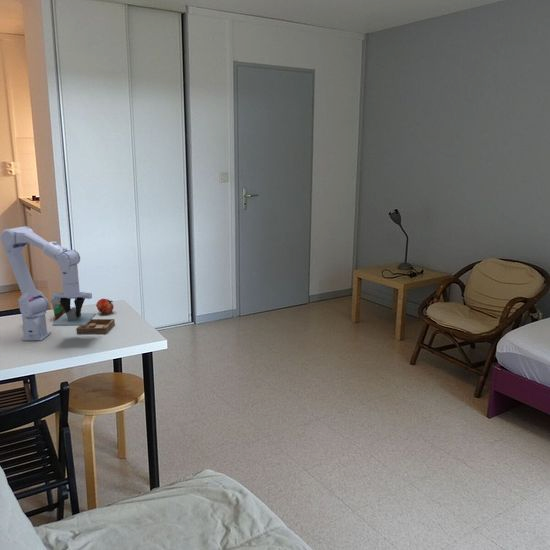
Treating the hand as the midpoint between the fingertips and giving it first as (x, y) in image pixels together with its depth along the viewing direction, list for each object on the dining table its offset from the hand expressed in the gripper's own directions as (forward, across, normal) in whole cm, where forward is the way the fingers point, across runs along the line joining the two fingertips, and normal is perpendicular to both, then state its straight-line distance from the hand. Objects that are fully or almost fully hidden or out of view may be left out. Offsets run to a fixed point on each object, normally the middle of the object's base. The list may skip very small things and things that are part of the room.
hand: (74, 316), depth 204 cm
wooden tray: (+10, -3, -15) cm, 18 cm away
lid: (+2, 0, 0) cm, 2 cm away
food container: (+11, +18, -30) cm, 37 cm away
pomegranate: (+11, 0, -37) cm, 38 cm away
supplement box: (+11, +26, -21) cm, 35 cm away
